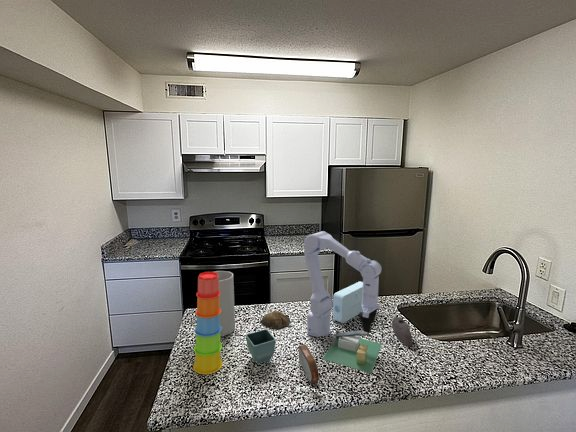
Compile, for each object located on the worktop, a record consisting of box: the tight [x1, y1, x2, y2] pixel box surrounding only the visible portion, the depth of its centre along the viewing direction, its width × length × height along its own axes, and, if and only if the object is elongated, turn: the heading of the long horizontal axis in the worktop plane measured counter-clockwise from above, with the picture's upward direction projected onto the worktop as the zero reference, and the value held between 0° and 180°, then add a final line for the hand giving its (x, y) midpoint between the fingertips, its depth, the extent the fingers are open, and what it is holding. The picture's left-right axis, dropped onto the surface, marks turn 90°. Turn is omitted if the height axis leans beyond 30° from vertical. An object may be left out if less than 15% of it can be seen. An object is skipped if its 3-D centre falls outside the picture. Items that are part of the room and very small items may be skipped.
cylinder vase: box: [214, 270, 236, 337], centre depth 134 cm, size 12×12×25 cm
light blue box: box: [332, 280, 363, 324], centre depth 149 cm, size 23×6×13 cm, turn 134°
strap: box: [333, 329, 371, 338], centre depth 121 cm, size 15×4×1 cm, turn 63°
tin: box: [297, 344, 320, 385], centre depth 106 cm, size 15×3×8 cm, turn 15°
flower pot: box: [245, 328, 277, 365], centre depth 115 cm, size 9×9×9 cm
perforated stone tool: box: [391, 316, 413, 348], centre depth 127 cm, size 15×5×7 cm, turn 179°
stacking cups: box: [192, 271, 224, 375], centre depth 109 cm, size 10×10×35 cm
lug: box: [356, 344, 368, 366], centre depth 113 cm, size 3×6×4 cm, turn 153°
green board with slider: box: [322, 329, 383, 374], centre depth 118 cm, size 18×20×4 cm
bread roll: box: [260, 310, 291, 330], centre depth 142 cm, size 13×12×5 cm
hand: (368, 326), depth 118 cm, fingers open, 7 cm apart
